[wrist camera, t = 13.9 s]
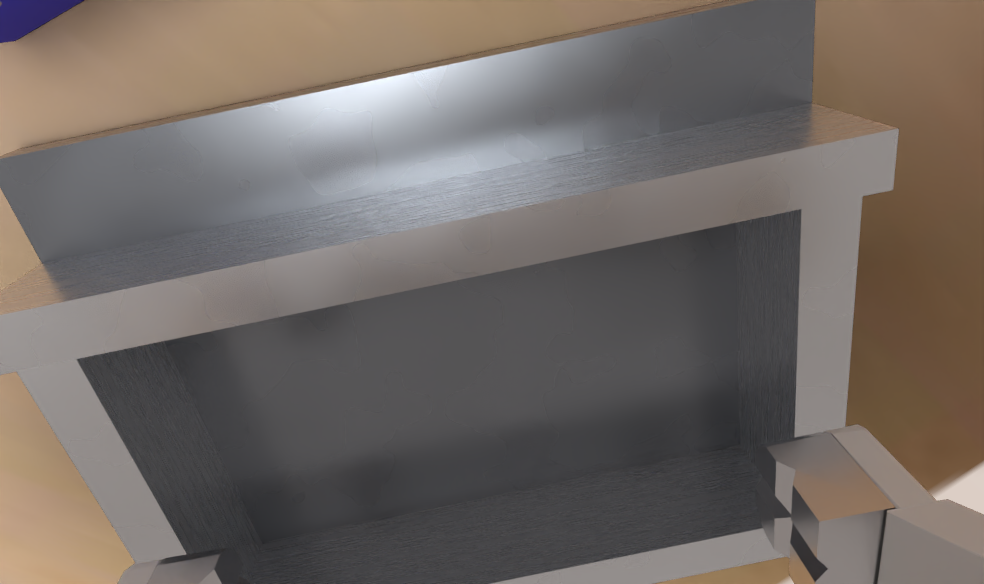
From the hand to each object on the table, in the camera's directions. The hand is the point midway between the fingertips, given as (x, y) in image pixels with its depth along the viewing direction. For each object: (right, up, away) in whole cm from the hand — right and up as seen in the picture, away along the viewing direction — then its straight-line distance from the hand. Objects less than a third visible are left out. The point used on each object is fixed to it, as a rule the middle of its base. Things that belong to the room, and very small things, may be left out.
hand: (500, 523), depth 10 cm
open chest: (-1, +2, +5) cm, 6 cm away
